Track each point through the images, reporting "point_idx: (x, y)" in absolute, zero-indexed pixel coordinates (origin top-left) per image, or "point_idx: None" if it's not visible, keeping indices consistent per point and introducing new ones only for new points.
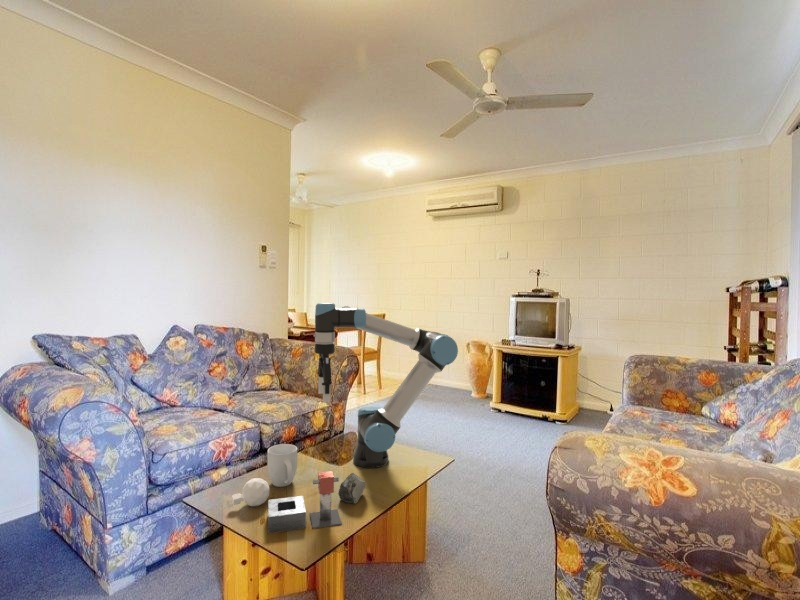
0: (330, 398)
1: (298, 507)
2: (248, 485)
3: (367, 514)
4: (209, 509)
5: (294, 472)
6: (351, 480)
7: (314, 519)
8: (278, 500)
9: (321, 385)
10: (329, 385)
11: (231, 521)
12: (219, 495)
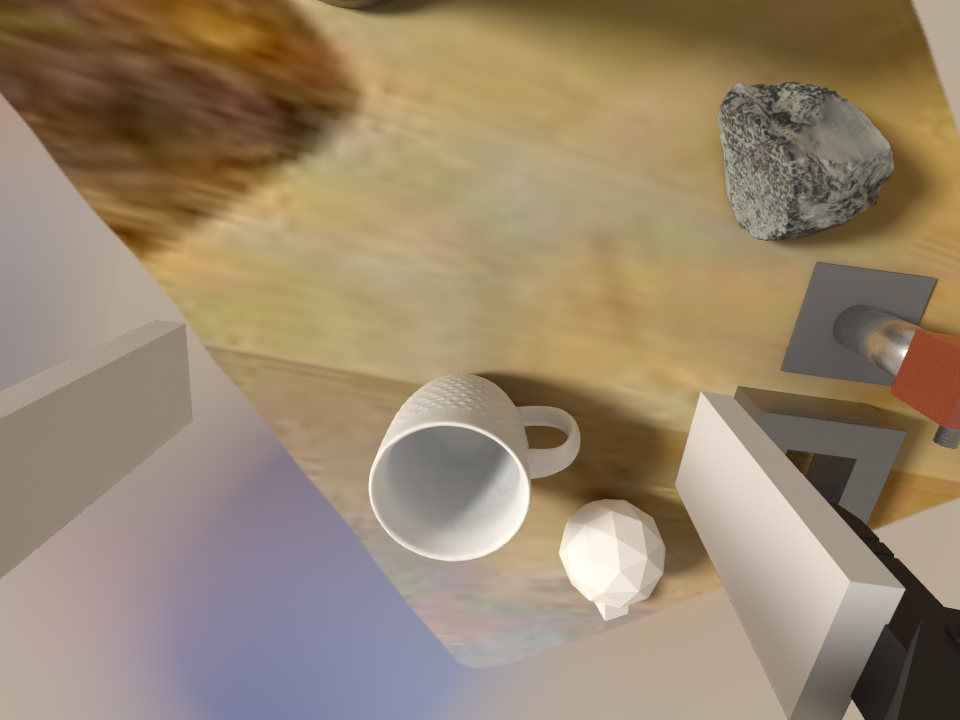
0: (751, 419)
1: (852, 448)
2: (633, 602)
3: (930, 144)
4: (570, 636)
5: (502, 393)
6: (856, 190)
7: (840, 366)
8: None
9: (99, 444)
10: (882, 599)
11: (682, 592)
12: (481, 607)
